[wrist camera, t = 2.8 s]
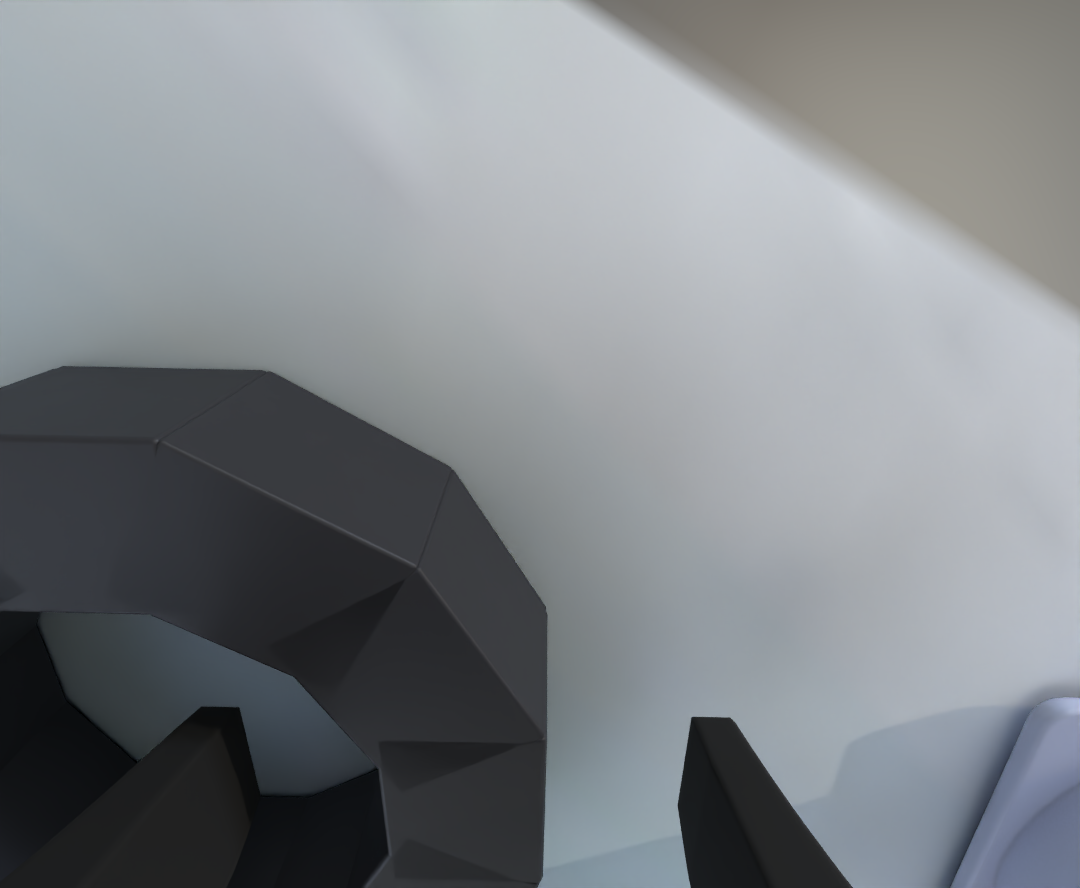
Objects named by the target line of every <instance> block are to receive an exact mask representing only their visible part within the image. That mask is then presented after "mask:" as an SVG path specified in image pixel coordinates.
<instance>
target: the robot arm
mask: <svg viewBox="0 0 1080 888" xmlns="http://www.w3.org/2000/svg"><path fill="white" fill-rule="evenodd" d="M260 797H261V795H260V791H259V787H258V783H257V779H256V775H255V770H254V766H253V762H252V758H251V754H250V750H249V746H248V741H247V737H246V733H245V729H244V725H243V721H242V717H241V712H240V708H239V707H200V708H199V709H198V710H197V711H196V712H195V713H193V714H192V715H191V716H190V717H189V718H188V719H187V720H185V721H184V722H183V723H182V724H181V725H180V726H179V727H178V728H176V729H175V730H174V731H173V732H172V733H171V734H170V735H169V736H167V737H166V738H165V739H164V740H163V741H162V742H161V743H160V744H158V745H157V746H156V747H155V748H154V749H153V750H152V751H151V752H150V753H148V754H147V755H146V756H145V757H144V758H143V759H142V760H141V761H140V762H138V763H137V764H136V765H135V766H134V767H133V768H132V769H131V770H130V771H128V772H127V773H126V774H125V775H124V776H123V777H122V778H121V779H119V780H118V781H117V782H116V783H115V784H114V785H113V786H112V787H110V788H109V789H108V790H107V791H106V792H105V793H104V794H103V795H101V796H100V797H99V798H98V799H97V800H96V801H95V802H93V803H92V804H91V805H90V806H89V807H88V808H87V809H85V810H84V811H83V812H82V813H81V814H80V815H79V816H77V817H76V818H75V819H74V820H73V821H72V822H71V823H69V824H68V825H67V826H66V827H65V828H64V829H62V830H61V831H60V832H59V833H58V834H57V835H56V836H54V837H53V838H52V839H51V840H50V841H49V842H48V843H46V844H45V845H44V846H43V847H42V848H40V849H39V850H38V851H37V852H36V853H34V854H33V855H32V856H31V857H29V858H28V859H27V860H26V861H25V862H23V863H22V864H21V865H20V866H19V867H17V868H16V869H15V870H14V871H13V872H11V873H10V874H9V875H8V876H6V877H5V878H4V879H3V880H2V881H0V888H227V886H228V883H229V881H230V879H231V877H232V875H233V872H234V870H235V868H236V865H237V862H238V860H239V857H240V854H241V852H242V849H243V846H244V843H245V841H246V838H247V835H248V832H249V829H250V826H251V824H252V821H253V818H254V815H255V812H256V809H257V806H258V803H259V800H260ZM678 810H679V817H680V824H681V831H682V838H683V845H684V851H685V857H686V863H687V869H688V876H689V881H690V885H691V888H852V886H851V885H850V884H849V882H848V881H847V880H846V879H845V877H844V876H843V875H842V873H841V872H840V871H839V870H838V868H837V867H836V866H835V864H834V863H833V862H832V860H831V859H830V857H829V856H828V855H827V853H826V852H825V851H824V849H823V848H822V847H821V845H820V844H819V843H818V841H817V840H816V839H815V837H814V836H813V835H812V833H811V832H810V831H809V829H808V828H807V827H806V825H805V824H804V823H803V821H802V820H801V818H800V817H799V816H798V814H797V813H796V812H795V810H794V809H793V807H792V806H791V805H790V803H789V802H788V800H787V799H786V797H785V796H784V795H783V793H782V792H781V790H780V789H779V787H778V786H777V784H776V783H775V782H774V780H773V779H772V777H771V776H770V774H769V773H768V771H767V770H766V768H765V767H764V766H763V764H762V763H761V761H760V760H759V758H758V757H757V755H756V754H755V752H754V751H753V749H752V748H751V746H750V744H749V743H748V741H747V740H746V738H745V737H744V735H743V734H742V732H741V731H740V729H739V728H738V726H737V724H736V723H735V722H734V721H733V720H732V719H731V718H721V717H692V718H691V724H690V731H689V737H688V743H687V750H686V756H685V762H684V769H683V775H682V781H681V788H680V794H679V801H678ZM950 888H1080V698H1072V697H1059V698H1051V699H1048V700H1046V701H1043V702H1041V703H1040V704H1038V705H1037V706H1036V707H1034V708H1033V709H1032V711H1031V712H1030V714H1029V715H1028V717H1027V720H1026V722H1025V724H1024V726H1023V728H1022V731H1021V733H1020V735H1019V737H1018V739H1017V742H1016V744H1015V746H1014V748H1013V750H1012V753H1011V755H1010V757H1009V759H1008V761H1007V764H1006V766H1005V768H1004V770H1003V772H1002V775H1001V777H1000V779H999V781H998V783H997V786H996V788H995V790H994V792H993V795H992V797H991V799H990V801H989V803H988V806H987V808H986V810H985V812H984V814H983V817H982V819H981V821H980V823H979V825H978V828H977V830H976V832H975V834H974V836H973V839H972V841H971V843H970V845H969V847H968V850H967V852H966V854H965V856H964V858H963V861H962V863H961V865H960V867H959V870H958V872H957V874H956V876H955V878H954V881H953V883H952V885H951V887H950Z"/></svg>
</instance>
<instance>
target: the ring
mask: <svg viewBox="0 0 1080 888" xmlns="http://www.w3.org/2000/svg"><path fill="white" fill-rule="evenodd" d="M40 612H66V613H110V614H150V615H152V616H154V617H157V618H159V619H161V620H163V621H166V622H168V623H170V624H173V625H175V626H177V627H180V628H182V629H184V630H187V631H189V632H191V633H194V634H196V635H198V636H200V637H203V638H205V639H207V640H210V641H212V642H214V643H217V644H219V645H221V646H224V647H226V648H228V649H231V650H233V651H235V652H237V653H240V654H242V655H244V656H247V657H249V658H251V659H254V660H256V661H258V662H261V663H263V664H265V665H268V666H270V667H272V668H274V669H277V670H279V671H281V672H284V673H286V674H288V675H291V676H293V677H294V678H295V679H296V680H297V681H298V682H299V683H300V684H301V685H302V686H303V687H304V688H305V690H306V691H307V692H308V693H309V694H310V695H311V696H312V697H313V698H314V699H315V700H316V701H317V703H318V704H319V705H320V706H321V707H322V708H323V709H324V710H325V711H326V712H327V713H328V715H329V716H330V717H331V718H332V719H333V720H334V721H335V722H336V723H337V724H338V725H339V726H340V728H341V729H342V730H343V731H344V732H345V733H346V734H347V735H348V736H349V737H350V738H351V740H352V741H353V742H354V743H355V744H356V745H357V746H358V747H359V748H360V749H361V750H362V751H363V753H364V754H365V755H366V756H367V757H368V758H369V759H370V760H371V761H372V762H373V763H374V764H375V766H376V767H377V768H378V770H376V771H374V772H371V773H369V774H366V775H364V776H361V777H359V778H356V779H354V780H351V781H349V782H347V783H344V784H342V785H339V786H337V787H334V788H332V789H329V790H327V791H324V792H322V793H319V794H317V795H314V796H312V797H310V798H294V797H260V800H259V803H258V806H257V809H256V812H255V815H254V818H253V821H252V824H251V826H250V829H249V832H248V835H247V838H246V841H245V843H244V846H243V849H242V852H241V854H240V857H239V860H238V862H237V865H236V868H235V870H234V872H233V875H232V877H231V879H230V881H229V883H228V886H227V888H537V887H538V885H539V883H540V881H541V879H542V877H543V852H544V819H545V785H546V751H547V613H546V607H545V605H544V604H543V602H542V601H541V599H540V598H539V596H538V595H537V593H536V592H535V590H534V589H533V587H532V586H531V584H530V583H529V581H528V580H527V578H526V577H525V575H524V574H523V572H522V571H521V569H520V568H519V567H518V565H517V564H516V562H515V561H514V559H513V558H512V556H511V555H510V553H509V552H508V550H507V549H506V547H505V546H504V544H503V543H502V541H501V540H500V538H499V537H498V535H497V534H496V532H495V531H494V529H493V528H492V526H491V525H490V523H489V522H488V520H487V519H486V517H485V516H484V514H483V513H482V511H481V510H480V509H479V507H478V506H477V504H476V503H475V501H474V500H473V498H472V497H471V495H470V494H469V492H468V491H467V489H466V488H465V486H464V485H463V483H462V482H461V480H460V479H459V477H458V476H457V474H456V473H455V471H453V470H451V468H450V467H449V466H447V465H445V464H443V463H442V462H440V461H438V460H436V459H434V458H432V457H430V456H428V455H427V454H425V453H423V452H421V451H419V450H417V449H415V448H413V447H411V446H410V445H408V444H406V443H404V442H402V441H400V440H398V439H396V438H395V437H393V436H391V435H389V434H387V433H385V432H383V431H381V430H380V429H378V428H376V427H374V426H372V425H370V424H368V423H366V422H365V421H363V420H361V419H359V418H357V417H355V416H353V415H351V414H349V413H348V412H346V411H344V410H342V409H340V408H338V407H336V406H334V405H333V404H331V403H329V402H327V401H325V400H323V399H321V398H319V397H318V396H316V395H314V394H312V393H310V392H308V391H306V390H304V389H303V388H301V387H299V386H297V385H295V384H293V383H291V382H289V381H287V380H286V379H284V378H282V377H280V376H278V375H276V374H274V373H272V372H266V371H262V370H220V369H171V368H122V367H73V366H62V367H60V368H57V369H52V370H49V371H46V372H44V373H41V374H38V375H35V376H32V377H30V378H27V379H24V380H21V381H18V382H15V383H13V384H10V385H7V386H4V387H1V388H0V881H2V880H3V879H4V878H5V877H6V876H8V875H9V874H10V873H11V872H13V871H14V870H15V869H16V868H17V867H19V866H20V865H21V864H22V863H23V862H25V861H26V860H27V859H28V858H29V857H31V856H32V855H33V854H34V853H36V852H37V851H38V850H39V849H40V848H42V847H43V846H44V845H45V844H46V843H48V842H49V841H50V840H51V839H52V838H53V837H54V836H56V835H57V834H58V833H59V832H60V831H61V830H62V829H64V828H65V827H66V826H67V825H68V824H69V823H71V822H72V821H73V820H74V819H75V818H76V817H77V816H79V815H80V814H81V813H82V812H83V811H84V810H85V809H87V808H88V807H89V806H90V805H91V804H92V803H93V802H95V801H96V800H97V799H98V798H99V797H100V796H101V795H103V794H104V793H105V792H106V791H107V790H108V789H109V788H110V787H112V786H113V785H114V784H115V783H116V782H117V781H118V780H119V779H121V778H122V777H123V776H124V775H125V774H126V773H127V772H128V771H130V770H131V769H132V768H133V767H134V766H135V765H136V764H137V763H136V762H134V761H133V760H132V759H131V758H130V757H129V756H128V755H127V754H125V753H124V752H123V751H122V750H121V749H120V748H119V747H118V746H116V745H115V744H114V743H113V742H112V741H111V740H110V739H108V738H107V737H106V736H105V735H104V734H103V733H102V732H101V731H99V730H98V729H97V728H96V727H95V726H94V725H93V724H91V723H90V722H89V721H88V720H87V719H86V718H85V717H84V716H82V715H81V714H80V713H79V712H78V711H77V710H76V709H74V708H73V707H72V706H71V705H70V704H69V703H68V702H67V701H66V700H65V697H64V695H63V692H62V690H61V687H60V684H59V682H58V679H57V677H56V674H55V672H54V669H53V667H52V664H51V661H50V659H49V656H48V654H47V651H46V649H45V646H44V643H43V641H42V638H41V636H40V633H39V631H38V628H37V625H36V623H37V620H38V617H39V614H40Z"/></svg>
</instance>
